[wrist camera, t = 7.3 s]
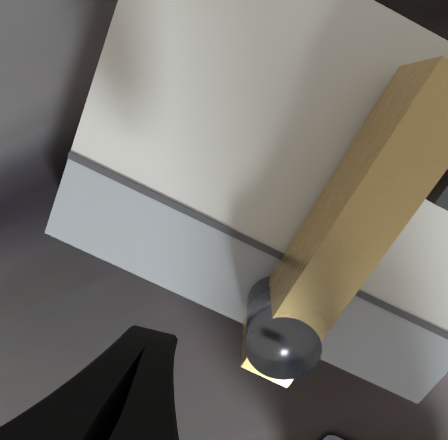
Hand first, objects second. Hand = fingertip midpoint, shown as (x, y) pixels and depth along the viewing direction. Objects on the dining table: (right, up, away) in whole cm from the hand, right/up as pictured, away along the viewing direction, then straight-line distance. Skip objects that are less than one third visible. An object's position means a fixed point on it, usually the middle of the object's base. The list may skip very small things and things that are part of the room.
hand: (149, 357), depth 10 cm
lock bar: (+7, +4, +4) cm, 9 cm away
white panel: (+6, +6, +7) cm, 11 cm away
